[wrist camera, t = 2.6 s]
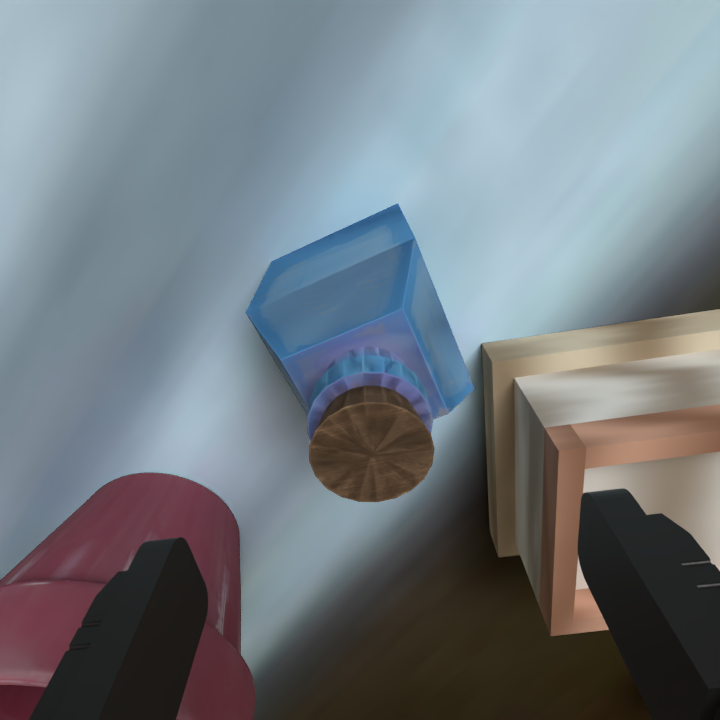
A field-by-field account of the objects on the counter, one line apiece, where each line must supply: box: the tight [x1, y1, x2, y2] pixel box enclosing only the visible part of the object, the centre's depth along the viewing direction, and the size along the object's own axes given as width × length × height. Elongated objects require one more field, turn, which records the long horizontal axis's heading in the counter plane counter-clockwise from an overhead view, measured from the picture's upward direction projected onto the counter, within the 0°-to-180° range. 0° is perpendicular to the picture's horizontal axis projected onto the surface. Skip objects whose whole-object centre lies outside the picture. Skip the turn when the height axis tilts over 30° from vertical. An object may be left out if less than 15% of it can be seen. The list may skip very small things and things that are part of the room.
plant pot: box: [0, 473, 255, 720], centre depth 24 cm, size 14×14×13 cm
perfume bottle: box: [246, 204, 474, 502], centre depth 18 cm, size 6×6×12 cm
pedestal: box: [482, 309, 720, 636], centre depth 23 cm, size 13×13×8 cm
